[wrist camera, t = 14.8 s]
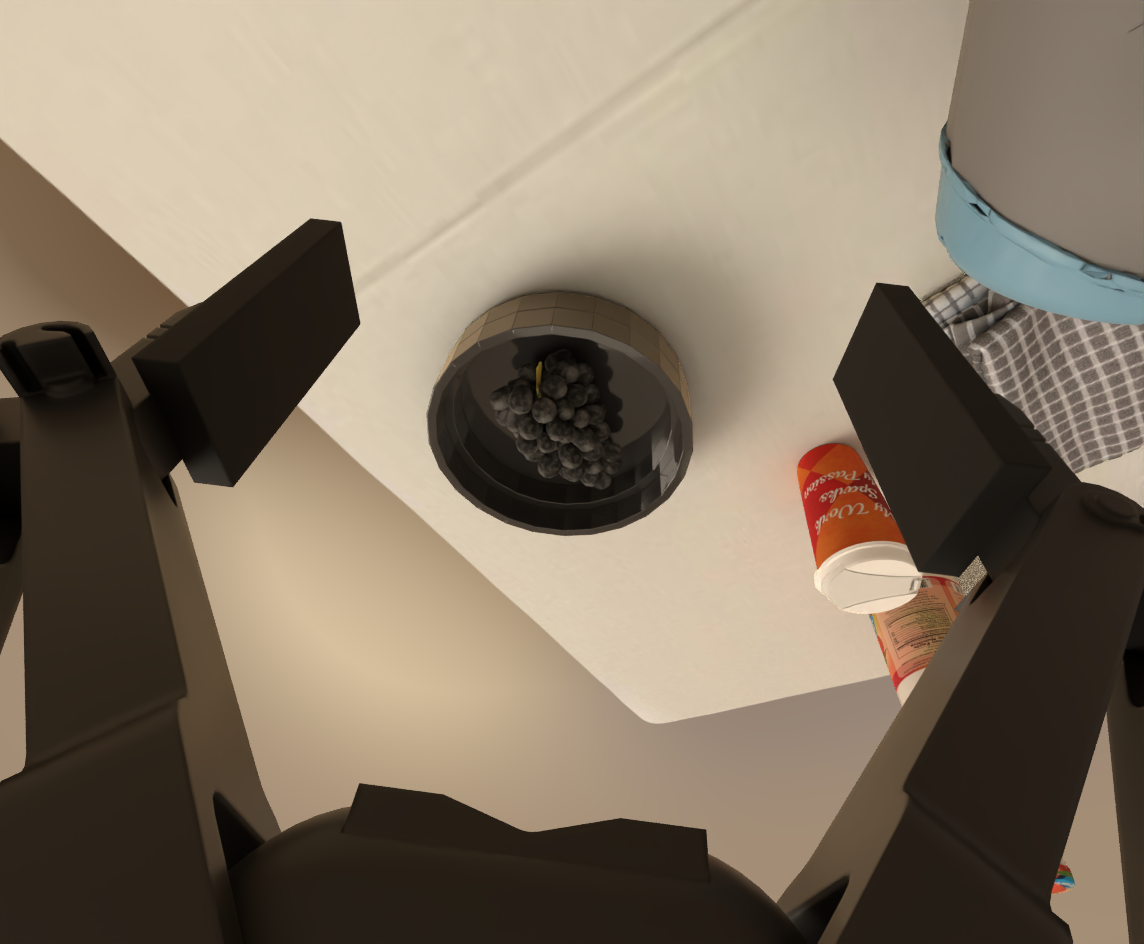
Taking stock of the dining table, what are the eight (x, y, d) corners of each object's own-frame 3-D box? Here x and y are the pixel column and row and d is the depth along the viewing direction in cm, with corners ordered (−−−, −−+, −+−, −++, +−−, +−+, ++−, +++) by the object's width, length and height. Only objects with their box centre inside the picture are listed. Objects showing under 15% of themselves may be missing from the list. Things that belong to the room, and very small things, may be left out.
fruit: (626, 533, 48) (544, 396, 39) (546, 531, 52) (456, 408, 43) (654, 459, 53) (587, 322, 44) (579, 463, 57) (504, 339, 48)
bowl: (717, 309, 44) (725, 348, 40) (659, 504, 59) (661, 549, 54) (439, 271, 44) (416, 306, 40) (450, 476, 59) (434, 519, 54)
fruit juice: (974, 568, 61) (1149, 883, 40) (917, 616, 67) (1043, 910, 46) (894, 548, 60) (1031, 861, 39) (844, 599, 66) (939, 892, 45)
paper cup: (876, 428, 50) (939, 550, 40) (868, 491, 55) (922, 614, 45) (783, 440, 52) (819, 560, 42) (783, 500, 57) (815, 621, 46)
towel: (984, 450, 51) (1030, 513, 45) (906, 295, 42) (950, 349, 36) (1205, 357, 44) (1293, 418, 38) (1165, 148, 35) (1270, 186, 29)
